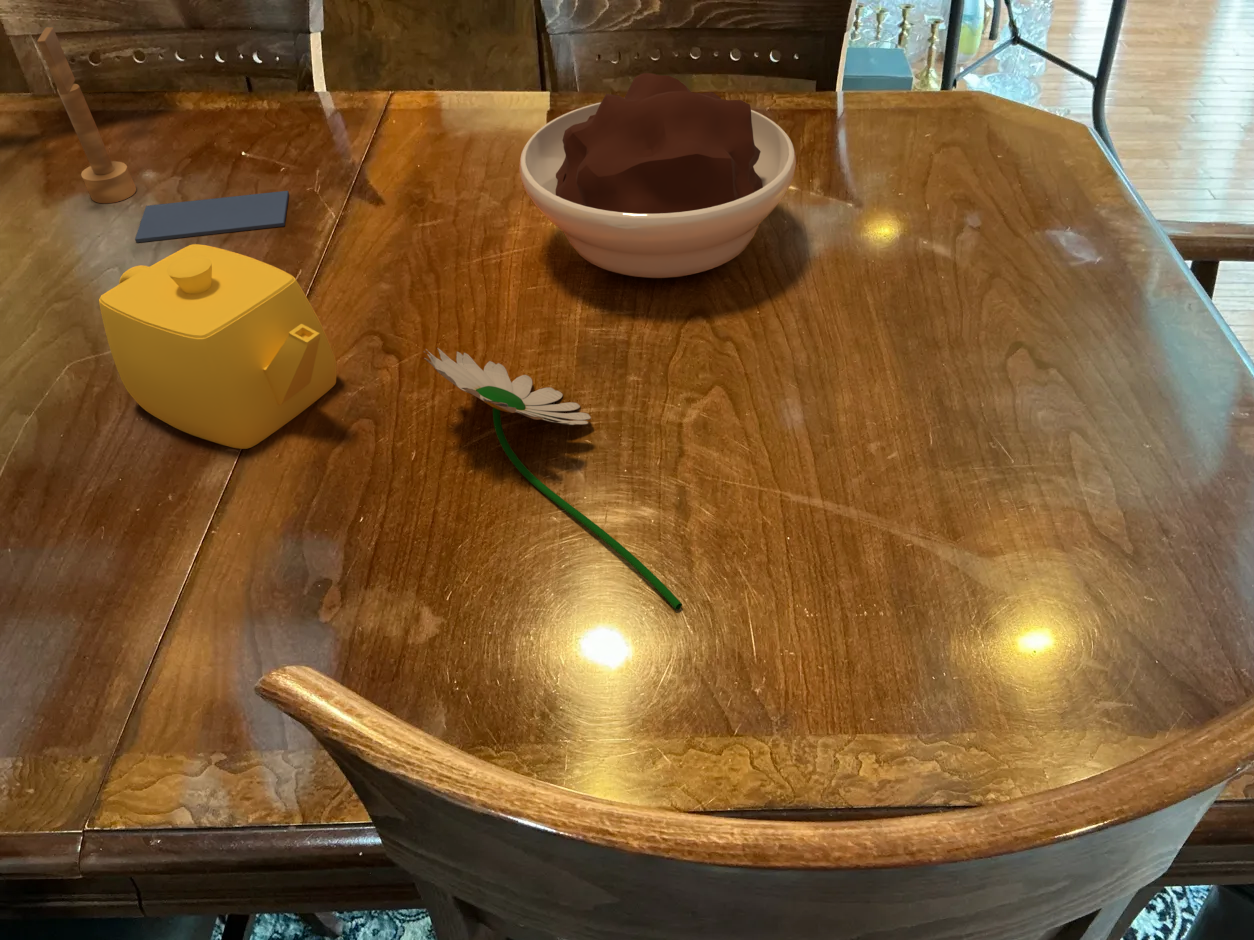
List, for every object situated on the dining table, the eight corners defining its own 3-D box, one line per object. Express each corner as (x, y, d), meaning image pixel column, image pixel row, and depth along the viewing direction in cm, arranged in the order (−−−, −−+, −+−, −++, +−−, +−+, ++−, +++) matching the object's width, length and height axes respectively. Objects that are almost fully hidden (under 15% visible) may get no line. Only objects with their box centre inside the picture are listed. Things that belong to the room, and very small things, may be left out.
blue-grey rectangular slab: (136, 242, 105) (134, 239, 105) (147, 209, 110) (145, 205, 110) (284, 226, 107) (283, 222, 107) (289, 194, 112) (288, 190, 112)
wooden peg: (87, 205, 111) (14, 44, 99) (95, 186, 114) (25, 27, 102) (132, 200, 111) (64, 40, 100) (139, 181, 114) (74, 23, 103)
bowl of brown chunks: (542, 332, 93) (518, 165, 83) (523, 198, 111) (501, 46, 100) (821, 299, 97) (832, 135, 86) (760, 174, 114) (763, 25, 103)
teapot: (394, 391, 87) (358, 261, 79) (282, 480, 80) (230, 346, 71) (218, 326, 94) (169, 201, 86) (100, 402, 87) (33, 272, 78)
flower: (630, 576, 64) (399, 311, 78) (590, 644, 66) (373, 373, 81) (764, 569, 74) (537, 335, 89) (726, 628, 76) (510, 390, 91)
